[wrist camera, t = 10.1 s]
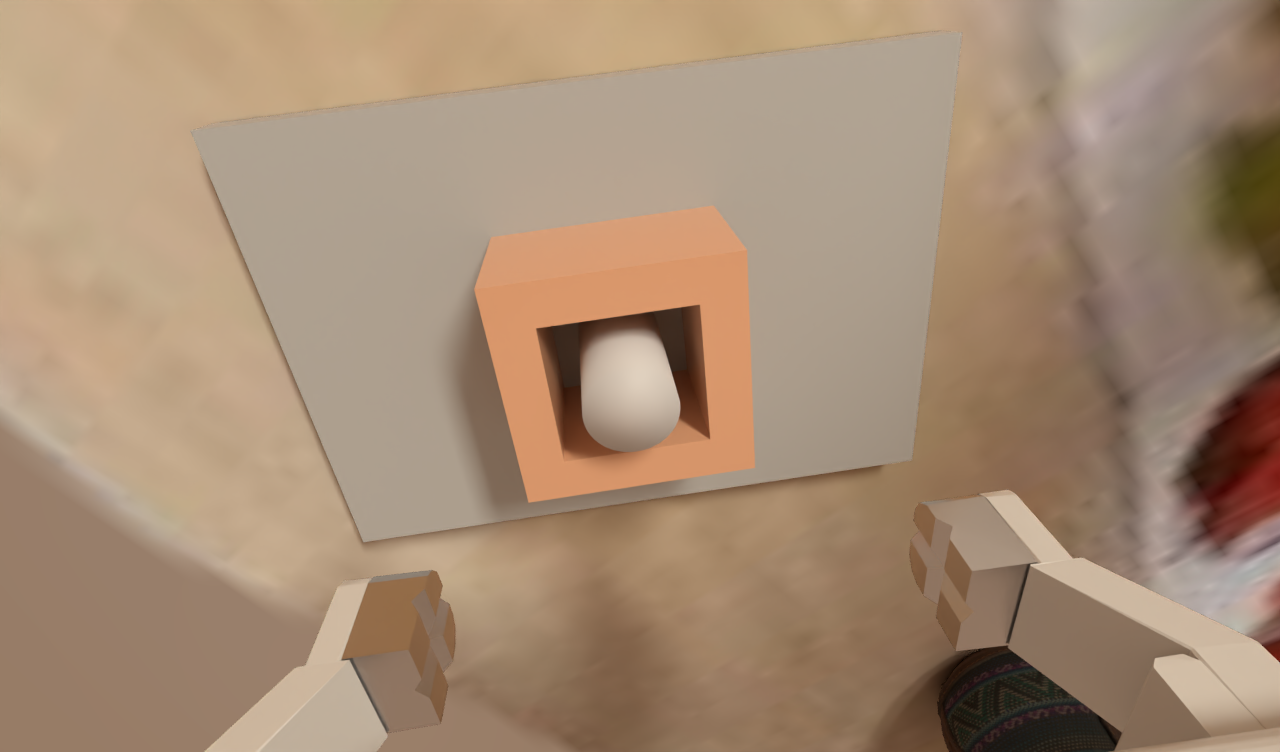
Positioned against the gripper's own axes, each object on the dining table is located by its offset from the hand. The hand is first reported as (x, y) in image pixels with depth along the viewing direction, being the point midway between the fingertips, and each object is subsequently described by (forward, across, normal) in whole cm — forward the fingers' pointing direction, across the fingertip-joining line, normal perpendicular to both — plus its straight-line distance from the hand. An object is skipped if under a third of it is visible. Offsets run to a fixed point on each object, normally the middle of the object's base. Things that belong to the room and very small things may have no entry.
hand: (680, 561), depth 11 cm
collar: (+10, +1, 0) cm, 10 cm away
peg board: (+12, +1, 0) cm, 12 cm away
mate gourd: (+12, -15, +22) cm, 30 cm away
